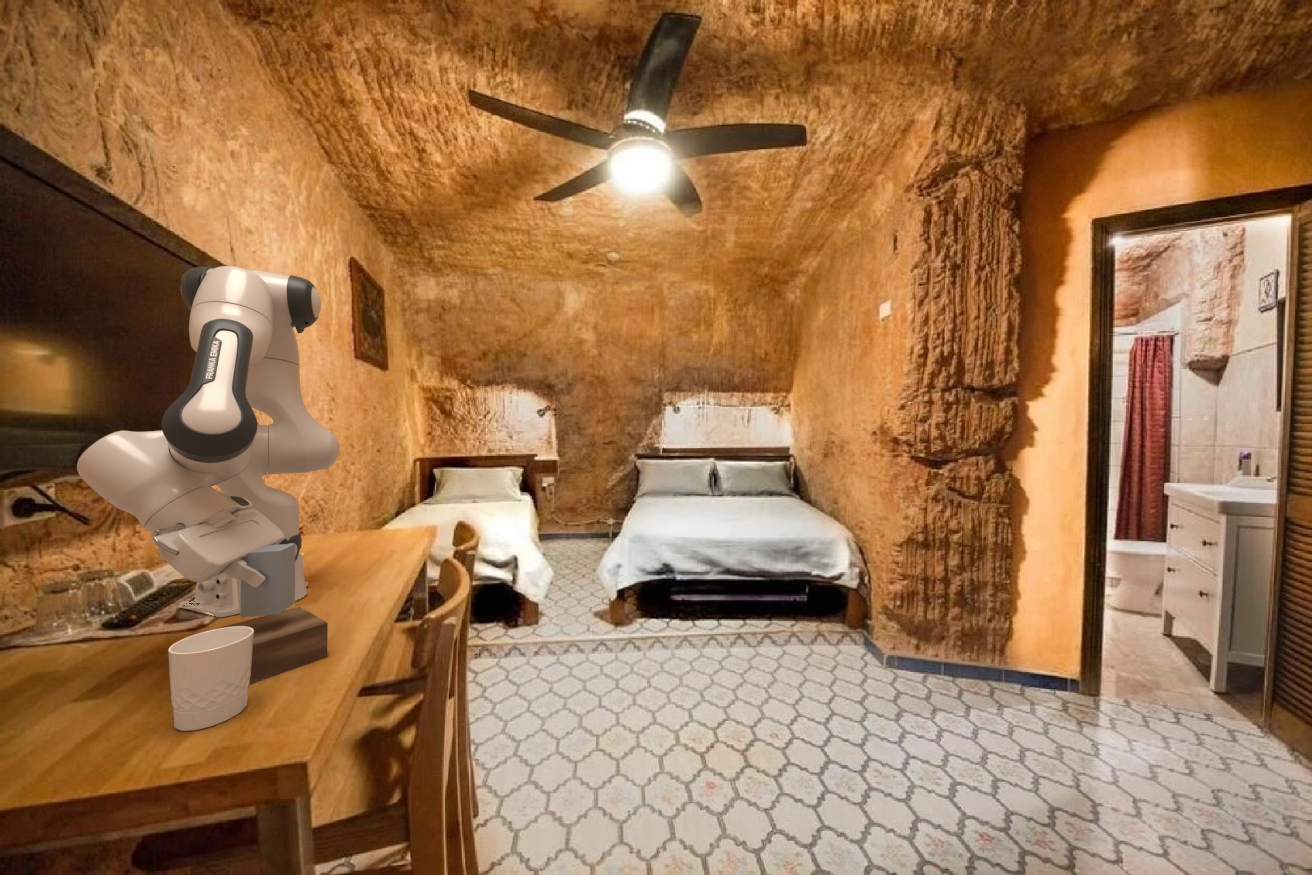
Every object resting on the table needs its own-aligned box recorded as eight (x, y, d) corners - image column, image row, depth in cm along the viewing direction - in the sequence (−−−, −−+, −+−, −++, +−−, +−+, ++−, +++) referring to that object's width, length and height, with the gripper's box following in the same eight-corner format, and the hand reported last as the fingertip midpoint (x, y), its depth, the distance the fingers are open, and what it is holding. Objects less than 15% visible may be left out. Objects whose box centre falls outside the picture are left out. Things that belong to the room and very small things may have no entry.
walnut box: (206, 668, 69) (206, 631, 69) (299, 639, 79) (299, 606, 79) (228, 694, 62) (228, 652, 62) (327, 658, 72) (327, 622, 72)
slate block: (240, 617, 67) (241, 553, 67) (258, 606, 72) (258, 545, 72) (279, 613, 69) (280, 550, 69) (294, 602, 74) (295, 543, 74)
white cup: (219, 694, 61) (220, 624, 62) (268, 699, 61) (269, 627, 61) (148, 732, 54) (149, 651, 54) (204, 737, 53) (205, 655, 53)
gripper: (165, 515, 58) (255, 581, 61) (251, 496, 78) (316, 547, 81) (120, 551, 57) (214, 616, 60) (219, 522, 76) (286, 573, 79)
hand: (273, 576), depth 71 cm, fingers closed on slate block, 5 cm apart
